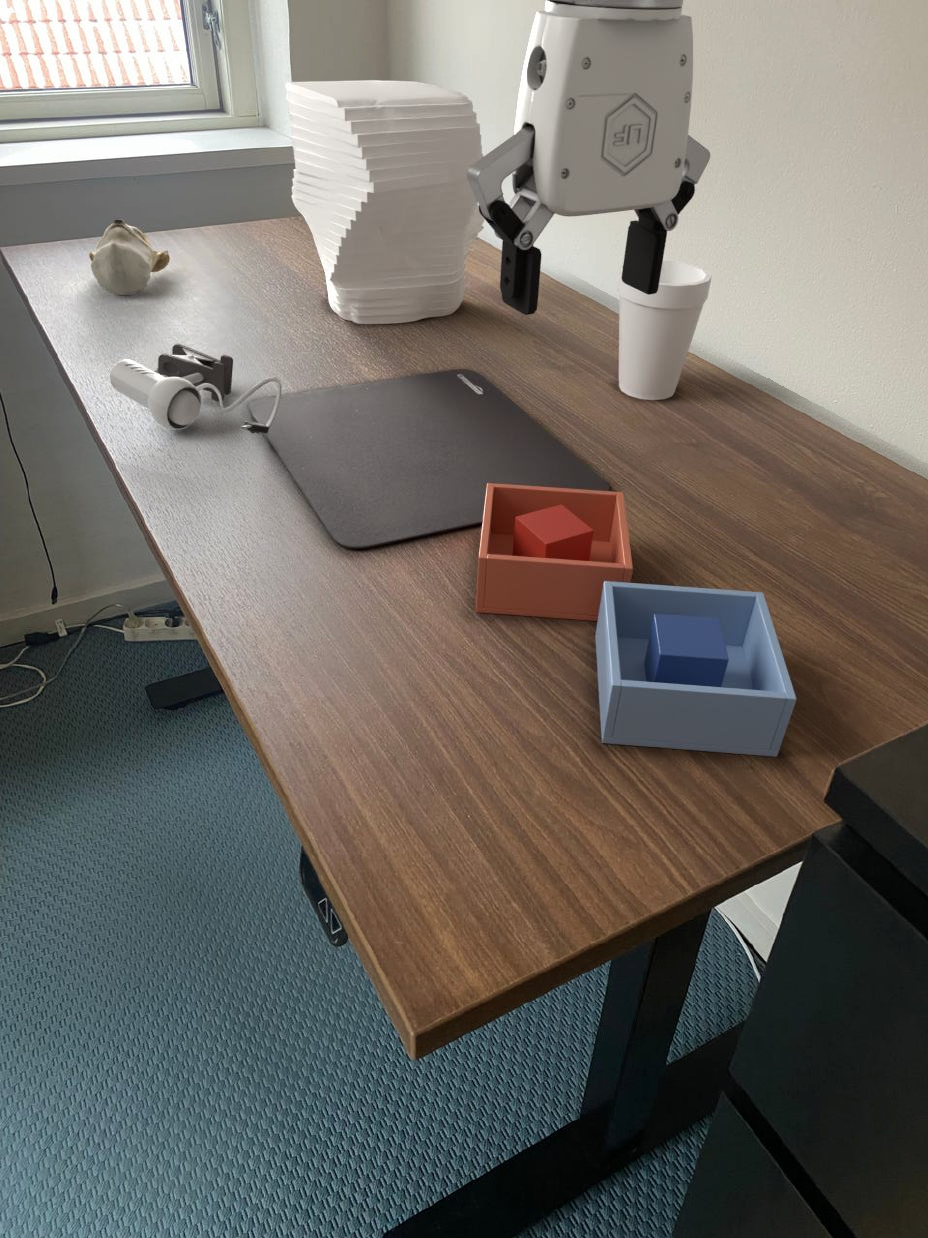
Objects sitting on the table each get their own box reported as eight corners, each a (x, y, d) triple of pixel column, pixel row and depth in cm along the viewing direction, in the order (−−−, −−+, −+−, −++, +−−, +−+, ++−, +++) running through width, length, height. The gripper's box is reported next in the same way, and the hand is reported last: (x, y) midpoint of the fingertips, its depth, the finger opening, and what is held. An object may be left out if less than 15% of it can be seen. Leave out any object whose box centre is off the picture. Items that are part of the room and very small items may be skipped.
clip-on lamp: (308, 440, 97) (181, 372, 102) (315, 383, 93) (183, 317, 98) (228, 475, 88) (94, 399, 93) (232, 415, 84) (93, 339, 90)
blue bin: (747, 647, 68) (763, 592, 65) (777, 757, 59) (797, 699, 56) (595, 635, 68) (603, 580, 65) (601, 743, 60) (612, 685, 56)
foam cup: (652, 413, 100) (672, 291, 92) (588, 385, 105) (602, 268, 97) (705, 391, 105) (729, 274, 97) (641, 365, 110) (659, 253, 102)
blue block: (706, 667, 65) (719, 618, 63) (715, 710, 62) (729, 659, 59) (643, 662, 65) (653, 613, 63) (649, 705, 62) (660, 654, 59)
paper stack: (291, 291, 127) (274, 76, 111) (476, 278, 134) (485, 75, 119) (323, 347, 111) (309, 105, 96) (530, 329, 119) (549, 102, 103)
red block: (556, 550, 77) (561, 503, 74) (587, 577, 74) (594, 530, 71) (511, 563, 75) (515, 516, 72) (541, 591, 72) (546, 544, 69)
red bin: (615, 543, 79) (623, 491, 76) (623, 623, 70) (633, 568, 67) (484, 534, 79) (487, 482, 76) (475, 612, 70) (478, 557, 67)
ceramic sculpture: (66, 230, 115) (86, 207, 127) (79, 301, 120) (98, 272, 132) (154, 230, 117) (166, 207, 129) (164, 300, 122) (175, 272, 134)
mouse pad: (619, 493, 85) (619, 491, 85) (341, 554, 75) (341, 552, 75) (471, 367, 108) (471, 366, 107) (243, 402, 98) (242, 400, 98)
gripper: (519, -13, 44) (498, 336, 55) (780, -11, 52) (718, 298, 62) (444, -24, 50) (438, 298, 60) (691, -21, 57) (647, 266, 67)
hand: (580, 297), depth 61 cm, fingers open, 9 cm apart
